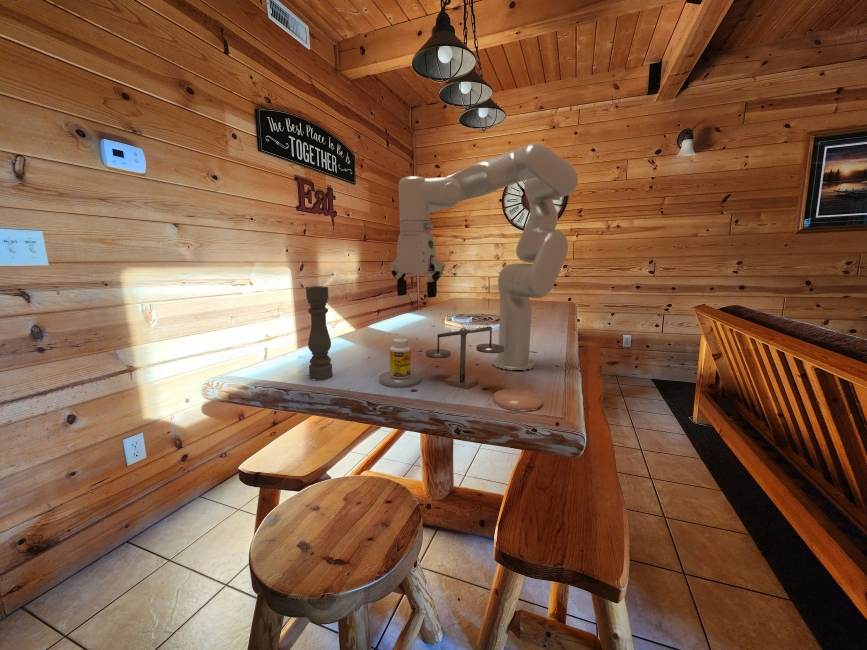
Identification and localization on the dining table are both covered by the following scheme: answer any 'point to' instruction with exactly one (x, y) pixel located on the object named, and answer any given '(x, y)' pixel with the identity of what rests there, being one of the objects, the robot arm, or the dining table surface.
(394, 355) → the supplement bottle
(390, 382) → the slate dish
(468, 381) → the balance
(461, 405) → the dining table surface
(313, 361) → the candle holder
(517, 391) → the terracotta dish
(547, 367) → the dining table surface
